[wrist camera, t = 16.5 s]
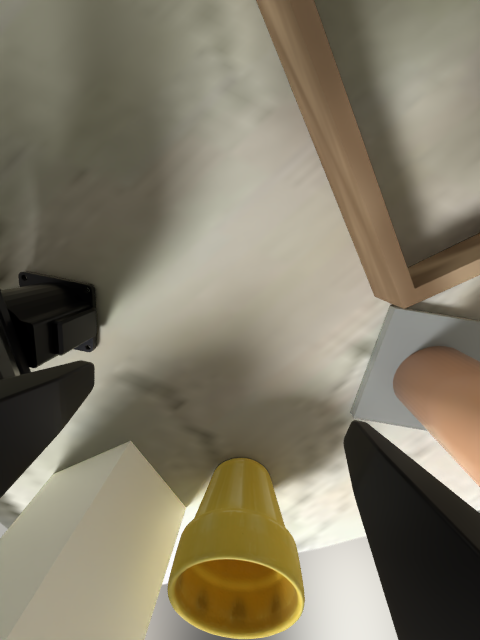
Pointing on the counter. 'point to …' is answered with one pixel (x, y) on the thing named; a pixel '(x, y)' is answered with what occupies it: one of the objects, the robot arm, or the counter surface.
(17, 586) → the milk
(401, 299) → the wooden box frame
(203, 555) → the plant pot
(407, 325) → the slate tile
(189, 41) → the counter surface
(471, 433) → the terracotta pot
